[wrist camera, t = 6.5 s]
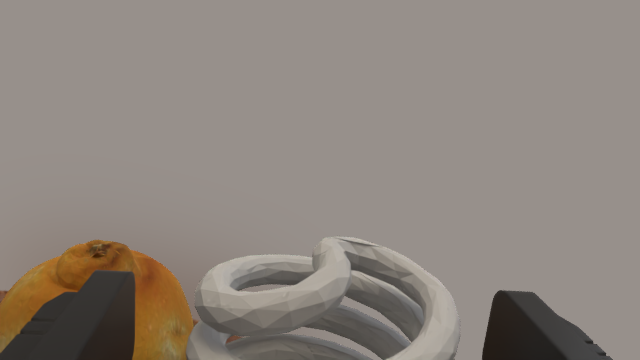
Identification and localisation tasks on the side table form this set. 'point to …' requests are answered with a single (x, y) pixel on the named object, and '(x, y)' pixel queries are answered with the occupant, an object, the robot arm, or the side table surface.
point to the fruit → (74, 270)
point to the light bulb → (323, 306)
